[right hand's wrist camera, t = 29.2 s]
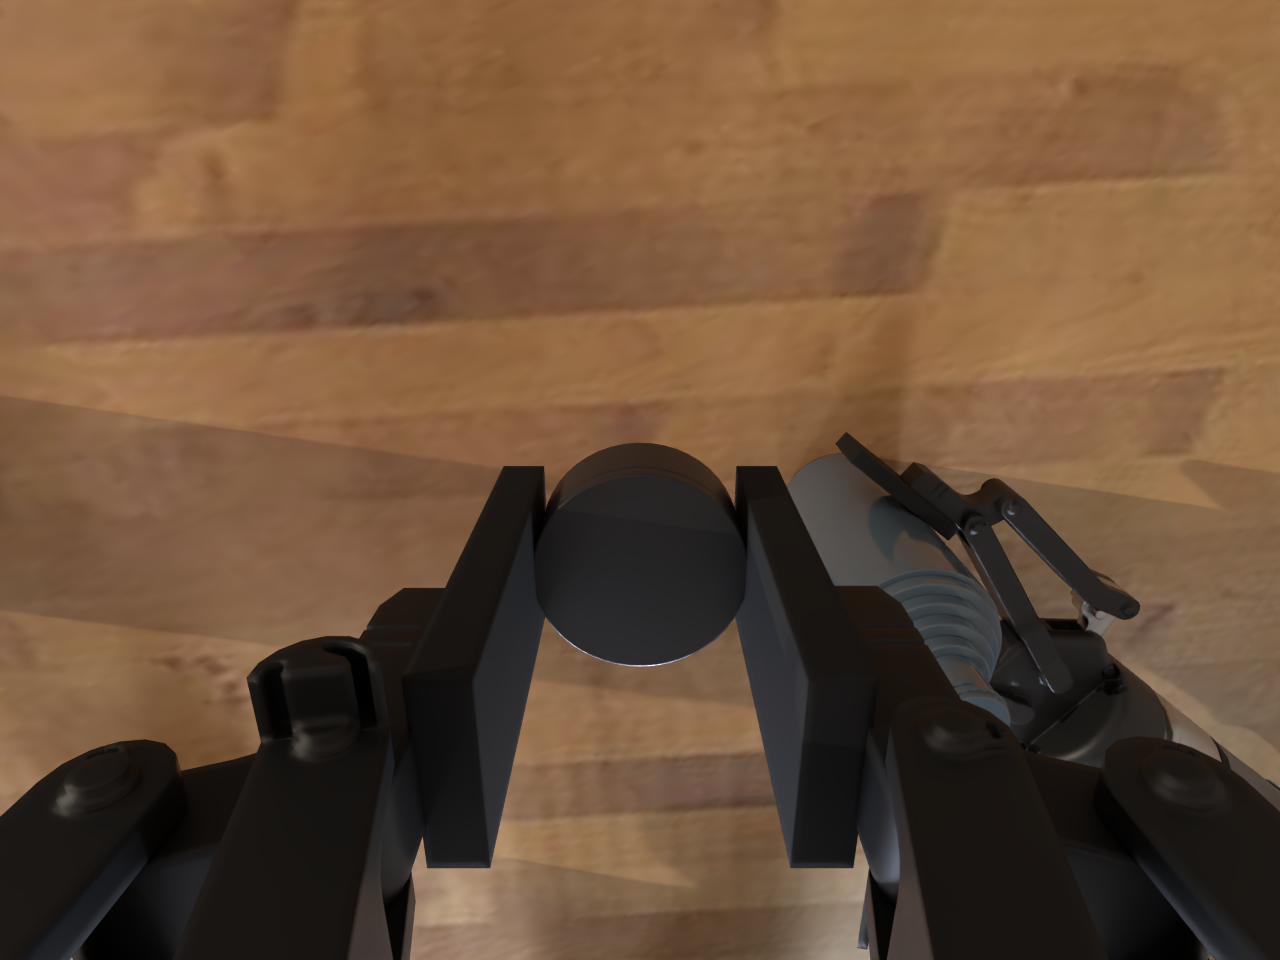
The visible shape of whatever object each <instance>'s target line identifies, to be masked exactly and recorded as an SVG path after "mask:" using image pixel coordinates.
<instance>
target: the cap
mask: <svg viewBox="0 0 1280 960" xmlns="http://www.w3.org/2000/svg"><path fill="white" fill-rule="evenodd" d="M746 557H747V550H746V546H745V542H744V539H743V535H742V532H741V529H740V525H739V522H738V518H737V515H736V512H735V508H734V506H733V503H732V500H731V498H730V496H729V494H728V492H727V490H726V488H725V487H724V485H723V484H722V482H721V481H720V480H719V478H718V477H717V476H716V475H715V474H714V473H713V472H712V471H711V470H710V469H709V468H708V467H707V466H705V465H704V464H703V463H702V462H700V461H699V460H697V459H696V458H694V457H692V456H691V455H689V454H687V453H684V452H682V451H680V450H677V449H674V448H671V447H668V446H664V445H658V444H652V443H630V444H622V445H617V446H613V447H609V448H606V449H604V450H601V451H598V452H596V453H594V454H592V455H590V456H588V457H587V458H585V459H584V460H582V461H581V462H579V463H578V464H576V465H575V466H574V467H573V468H572V469H571V470H570V471H569V472H567V473H566V475H565V476H564V477H563V478H562V479H561V481H560V482H559V483H558V485H557V486H556V488H555V489H554V491H553V493H552V495H551V497H550V499H549V502H548V504H547V508H546V511H545V515H544V518H543V522H542V525H541V528H540V532H539V535H538V539H537V542H536V546H535V549H534V567H535V584H536V597H537V600H538V603H539V605H540V607H541V609H542V611H543V613H544V615H545V616H546V618H547V619H548V621H549V622H550V624H551V625H552V626H553V627H554V628H555V630H556V631H557V632H558V633H559V634H560V635H561V636H562V637H563V638H565V639H566V640H567V641H568V642H569V643H571V644H572V645H573V646H575V647H576V648H578V649H579V650H581V651H583V652H585V653H587V654H589V655H591V656H593V657H596V658H598V659H601V660H603V661H607V662H611V663H615V664H621V665H628V666H653V665H660V664H665V663H670V662H674V661H677V660H680V659H683V658H685V657H687V656H690V655H692V654H694V653H696V652H698V651H699V650H701V649H703V648H705V647H706V646H707V645H709V644H710V643H711V642H713V641H714V640H715V639H716V638H717V637H719V636H720V635H721V634H722V633H723V632H724V631H725V630H726V628H727V627H728V626H729V624H730V623H731V622H732V621H733V619H734V617H735V616H736V614H737V612H738V611H739V609H740V607H741V604H742V602H743V599H744V592H745V575H746Z"/></svg>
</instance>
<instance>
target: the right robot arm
mask: <svg viewBox="0 0 1280 960" xmlns="http://www.w3.org/2000/svg"><path fill="white" fill-rule="evenodd" d="M734 508H735V512H736V515H737V518H738V522H739V525H740V529H741V532H742V535H743V539H744V542H745V546H746V550H747V557H746V575H745V592H744V599H743V602H742V604H741V607H740V609H739V611H738V612H737V614H736V616H735V617H736V622H737V626H738V631H739V636H740V640H741V645H742V649H743V654H744V658H745V663H746V668H747V672H748V677H749V681H750V686H751V690H752V695H753V699H754V704H755V709H756V713H757V718H758V722H759V727H760V731H761V736H762V741H763V745H764V750H765V754H766V759H767V763H768V768H769V773H770V777H771V782H772V786H773V791H774V795H775V800H776V805H777V809H778V814H779V818H780V823H781V827H782V832H783V836H784V841H785V846H786V850H787V855H788V859H789V864H790V868H853V866H854V859H855V852H856V845H857V837H858V834H859V837H860V840H861V843H862V846H863V849H864V852H865V855H866V858H867V861H868V864H869V873H868V879H867V886H866V893H865V899H864V906H863V913H862V919H861V926H860V933H859V940H858V947H857V948H861V949H867V948H868V942H869V949H870V958H871V960H1209V958H1208V957H1209V955H1210V954H1211V955H1212V956H1213V958H1214V959H1215V960H1280V811H1279V810H1278V809H1277V808H1276V807H1274V806H1273V805H1272V804H1271V803H1270V802H1269V801H1268V800H1267V799H1266V798H1265V797H1263V796H1262V795H1261V794H1260V793H1259V792H1258V791H1257V790H1256V789H1255V788H1254V787H1253V786H1251V785H1250V784H1249V783H1248V782H1247V781H1246V780H1245V779H1244V778H1242V777H1241V776H1240V775H1238V774H1237V773H1236V772H1234V771H1233V770H1231V769H1230V768H1229V767H1227V766H1226V765H1225V764H1223V763H1222V762H1221V761H1219V760H1217V759H1215V758H1213V757H1211V756H1209V755H1207V754H1205V753H1202V752H1200V751H1198V750H1196V749H1194V748H1192V747H1189V746H1186V745H1184V744H1181V743H1176V742H1173V741H1169V740H1166V739H1162V738H1151V737H1140V736H1135V737H1130V738H1125V739H1120V740H1116V741H1115V742H1114V743H1113V744H1112V745H1111V746H1110V747H1109V748H1108V749H1107V750H1106V751H1105V755H1104V758H1103V762H1102V765H1101V768H1098V767H1093V766H1089V765H1084V764H1079V763H1075V762H1070V761H1066V760H1061V759H1057V758H1052V757H1047V756H1044V755H1040V754H1037V753H1033V752H1030V751H1026V750H1024V749H1022V748H1021V745H1020V743H1019V741H1018V739H1017V738H1016V736H1015V735H1014V734H1013V732H1012V731H1011V729H1010V728H1009V726H1008V725H1007V724H1005V723H1004V722H1003V721H1001V720H1000V719H999V718H997V717H996V716H995V715H993V714H992V713H991V712H990V711H987V710H985V709H983V708H981V707H979V706H976V705H974V704H972V703H970V702H967V701H964V700H961V698H960V697H959V695H958V694H957V692H956V690H955V689H954V687H953V686H952V684H951V682H950V681H949V679H948V677H947V676H946V674H945V673H944V671H943V669H942V668H941V666H940V665H939V663H938V661H937V660H936V658H935V657H934V655H933V653H932V652H931V650H930V649H929V647H928V645H925V643H924V639H923V637H922V636H921V634H920V632H919V631H918V629H917V628H914V623H913V621H912V620H911V618H910V616H909V615H908V613H907V612H906V610H905V608H904V607H903V605H902V604H901V603H900V602H899V601H898V600H896V599H895V598H893V597H892V596H891V595H889V594H888V593H886V592H885V591H884V590H882V589H881V588H879V587H878V586H834V584H833V582H832V580H831V578H830V576H829V574H828V572H827V570H826V567H825V565H824V563H823V561H822V559H821V557H820V555H819V553H818V551H817V549H816V547H815V545H814V543H813V540H812V538H811V536H810V534H809V532H808V530H807V528H806V526H805V524H804V522H803V520H802V518H801V516H800V514H799V511H798V509H797V507H796V505H795V503H794V501H793V499H792V497H791V495H790V493H789V491H788V489H787V487H786V485H785V482H784V480H783V478H782V476H781V474H780V472H779V470H778V468H777V466H736V486H735V506H734ZM545 511H546V496H545V476H544V466H504V467H503V469H502V471H501V473H500V475H499V477H498V479H497V481H496V483H495V486H494V488H493V490H492V492H491V494H490V496H489V498H488V500H487V502H486V504H485V506H484V508H483V510H482V513H481V515H480V517H479V519H478V521H477V523H476V525H475V527H474V529H473V531H472V533H471V535H470V537H469V539H468V542H467V544H466V546H465V548H464V550H463V552H462V554H461V556H460V558H459V560H458V562H457V564H456V566H455V569H454V571H453V573H452V575H451V577H450V579H449V581H448V583H447V585H446V587H445V588H403V589H402V590H401V591H399V592H398V593H396V594H395V595H394V596H392V597H391V598H389V599H388V600H387V601H385V602H384V603H383V604H381V605H380V606H379V607H378V609H377V611H376V612H375V614H374V615H373V617H372V619H371V620H370V622H369V624H368V625H367V630H364V632H363V633H362V635H361V637H360V638H359V639H357V638H354V637H350V636H325V637H320V638H315V639H309V640H304V641H301V642H298V643H295V644H293V645H290V646H288V647H285V648H283V649H280V650H278V651H276V652H275V653H273V654H272V655H270V656H269V657H267V658H266V659H264V660H263V661H261V662H260V663H258V664H257V666H256V667H255V668H254V669H253V671H252V672H251V673H250V674H249V675H248V677H247V682H248V687H249V691H250V695H251V700H252V704H253V708H254V713H255V717H256V722H257V726H258V730H259V735H260V739H261V744H260V746H259V749H258V751H257V753H255V754H251V755H248V756H244V757H241V758H238V759H234V760H230V761H225V762H220V763H216V764H211V765H207V766H202V767H198V768H193V769H188V770H184V771H181V770H180V767H179V763H178V760H177V756H176V753H175V752H173V751H172V750H171V749H170V748H169V747H168V746H167V745H166V744H165V743H160V742H155V741H151V740H146V739H144V740H133V741H122V742H117V743H113V744H110V745H106V746H102V747H99V748H96V749H93V750H90V751H88V752H86V753H84V754H82V755H80V756H78V757H76V758H74V759H72V760H70V761H68V762H66V763H64V764H62V765H60V766H59V767H58V768H56V769H55V770H54V771H52V772H51V773H49V774H48V775H47V776H45V777H44V778H43V779H41V780H40V781H39V782H37V783H36V784H35V785H34V786H33V787H32V788H31V789H30V790H29V791H28V792H27V793H26V794H24V795H23V796H22V797H21V798H20V799H19V800H18V801H17V802H16V803H15V804H14V805H13V806H11V807H10V808H9V809H8V810H7V811H6V812H5V813H4V814H3V815H2V816H1V817H0V960H70V959H71V958H73V960H410V951H411V941H412V931H413V922H414V912H415V902H416V901H415V893H414V886H413V879H412V873H411V870H412V867H413V864H414V861H415V858H416V855H417V852H418V849H419V846H420V843H421V840H422V836H423V841H424V848H425V855H426V863H427V868H490V866H491V862H492V857H493V852H494V848H495V843H496V839H497V834H498V830H499V825H500V820H501V816H502V811H503V807H504V802H505V798H506V793H507V788H508V784H509V779H510V775H511V770H512V766H513V761H514V756H515V752H516V747H517V743H518V738H519V734H520V729H521V725H522V720H523V715H524V711H525V706H526V702H527V697H528V693H529V688H530V683H531V679H532V674H533V670H534V665H535V661H536V656H537V651H538V647H539V642H540V638H541V633H542V629H543V624H544V619H545V615H544V613H543V611H542V609H541V607H540V605H539V603H538V600H537V597H536V584H535V567H534V549H535V546H536V542H537V539H538V535H539V532H540V528H541V525H542V522H543V518H544V515H545Z"/></svg>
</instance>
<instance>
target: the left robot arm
mask: <svg viewBox="0 0 1280 960" xmlns="http://www.w3.org/2000/svg"><path fill="white" fill-rule="evenodd" d="M836 445H837V446H838V447H839V449H840V450H841V451H842V453H843V454H844V455H845V456H846V458H847V459H848V460H849V462H850V463H852V464H853V465H854V466H855V467H857V468H858V469H859V470H860V471H862V472H863V473H864V474H865V475H867V476H868V477H869V478H870V479H872V480H873V481H874V482H875V483H877V484H878V485H879V486H880V487H882V488H883V489H884V490H885V491H887V492H888V493H889V494H890V495H892V496H893V497H894V498H895V499H897V500H898V501H899V502H900V503H902V504H903V505H904V506H905V507H907V508H908V509H909V510H910V511H912V512H913V513H914V514H916V515H917V516H918V517H919V518H921V519H922V520H923V521H924V522H926V523H927V524H928V525H929V526H931V527H932V528H933V529H934V530H936V531H937V532H938V533H939V534H941V535H942V536H943V537H944V538H946V539H947V540H950V539H951V538H952V537H953V536H954V535H955V534H956V533H957V535H958V537H959V538H960V540H961V542H962V544H963V546H964V548H965V550H966V551H967V553H968V555H969V557H970V559H971V561H972V563H973V564H974V566H975V568H976V570H977V572H978V574H979V576H980V577H981V579H982V581H983V583H984V585H985V587H986V589H987V590H988V592H989V594H990V596H991V598H992V600H993V601H994V603H995V605H996V608H997V611H998V614H999V615H1000V617H1001V619H1002V620H1001V621H1000V626H1001V632H1002V643H1001V650H1000V653H999V657H998V659H997V663H996V666H995V669H994V671H993V674H992V677H991V679H990V682H989V683H990V685H991V686H992V688H993V689H994V690H995V691H996V692H997V693H998V694H999V695H1001V696H1002V698H1003V699H1004V700H1005V702H1006V703H1007V707H1008V710H1009V714H1010V729H1011V731H1012V732H1013V734H1014V735H1015V736H1016V738H1017V739H1018V741H1019V743H1020V745H1021V748H1022V749H1024V750H1026V751H1030V752H1033V753H1037V754H1040V755H1044V756H1047V757H1052V758H1057V759H1061V760H1066V761H1070V762H1075V763H1079V764H1084V765H1089V766H1093V767H1098V768H1101V765H1102V762H1103V758H1104V755H1105V751H1106V750H1107V749H1108V748H1109V747H1110V746H1111V745H1112V744H1113V743H1114V742H1115V741H1116V740H1120V739H1125V738H1130V737H1135V736H1140V737H1151V738H1162V739H1166V740H1169V741H1173V742H1176V743H1181V744H1184V745H1186V746H1189V747H1192V748H1194V749H1196V750H1198V751H1200V752H1202V753H1205V754H1207V755H1209V756H1211V757H1213V758H1215V759H1217V760H1219V761H1221V762H1222V763H1223V764H1225V765H1226V766H1227V767H1229V768H1230V769H1231V770H1233V771H1234V772H1236V773H1237V774H1238V775H1240V776H1241V777H1242V778H1244V779H1245V780H1246V781H1247V782H1248V783H1249V784H1250V785H1251V786H1253V787H1254V788H1255V789H1256V790H1257V791H1258V792H1259V793H1260V794H1261V795H1262V796H1263V797H1265V798H1266V799H1267V800H1268V801H1269V802H1270V803H1271V804H1272V805H1273V806H1274V807H1276V808H1277V809H1278V810H1279V811H1280V787H1278V786H1277V785H1276V784H1274V783H1273V782H1271V781H1270V780H1266V779H1264V778H1263V777H1261V776H1260V775H1259V774H1258V773H1256V772H1255V771H1254V770H1253V769H1251V768H1250V767H1249V766H1247V765H1246V764H1245V763H1243V762H1242V761H1241V760H1239V759H1238V758H1237V757H1235V756H1234V755H1233V754H1232V753H1230V752H1229V751H1228V750H1226V749H1225V748H1224V747H1222V746H1221V745H1220V744H1219V743H1217V742H1216V741H1215V740H1214V739H1213V738H1212V737H1211V736H1210V735H1209V734H1208V733H1206V732H1205V731H1204V730H1203V729H1201V728H1200V727H1199V726H1198V725H1197V724H1195V723H1194V722H1193V721H1192V720H1190V719H1189V718H1188V717H1187V716H1185V715H1184V714H1183V713H1182V712H1181V711H1179V710H1178V709H1177V708H1176V707H1174V706H1173V705H1172V704H1171V703H1170V702H1168V701H1167V700H1166V699H1165V698H1163V697H1162V696H1161V695H1159V694H1158V693H1157V692H1155V691H1154V690H1152V689H1151V687H1150V686H1148V685H1147V684H1146V683H1145V682H1144V681H1142V680H1141V679H1140V678H1139V677H1138V676H1136V675H1135V674H1134V673H1133V672H1131V671H1130V670H1129V669H1128V668H1126V667H1125V666H1124V665H1123V664H1121V663H1120V662H1119V661H1118V660H1116V659H1115V658H1114V657H1113V656H1111V655H1110V654H1109V653H1108V652H1107V648H1106V644H1105V641H1104V639H1103V638H1102V635H1103V634H1104V633H1105V632H1106V630H1107V629H1108V628H1109V626H1110V625H1111V624H1112V622H1113V621H1114V620H1115V619H1116V617H1117V618H1120V619H1123V620H1126V619H1131V618H1133V617H1134V616H1136V615H1137V614H1138V612H1139V610H1140V604H1139V602H1138V601H1136V600H1135V599H1134V598H1133V597H1132V596H1130V595H1129V594H1128V593H1127V592H1126V591H1125V590H1123V589H1122V588H1121V587H1120V586H1119V585H1117V584H1116V583H1115V582H1114V581H1112V580H1111V579H1110V578H1109V577H1107V576H1105V575H1103V574H1100V573H1098V572H1096V571H1093V570H1091V569H1089V568H1088V567H1087V565H1086V564H1085V563H1084V562H1083V561H1082V560H1081V559H1080V558H1079V557H1078V556H1077V555H1076V554H1075V553H1074V552H1073V551H1072V549H1071V548H1070V547H1069V546H1068V545H1067V544H1066V543H1065V542H1064V541H1063V540H1062V539H1061V538H1060V537H1059V536H1058V535H1057V533H1056V532H1055V531H1054V530H1053V529H1052V528H1051V527H1050V526H1049V525H1048V524H1047V523H1046V522H1045V521H1044V520H1043V518H1042V517H1041V516H1040V515H1039V514H1038V513H1037V512H1036V511H1035V510H1034V509H1033V508H1032V507H1031V506H1030V505H1029V504H1028V502H1027V501H1026V500H1025V499H1023V498H1022V497H1021V496H1020V495H1019V494H1017V493H1016V492H1015V491H1014V490H1012V489H1011V488H1010V487H1009V486H1007V485H1006V484H1005V483H1004V482H1002V481H1001V480H999V479H996V478H993V479H989V480H987V481H986V482H984V484H983V485H982V487H981V490H979V491H977V492H975V493H973V494H970V495H962V494H960V493H958V492H956V491H955V490H953V489H952V488H951V487H950V486H949V485H947V484H946V483H945V482H944V481H942V480H941V479H940V478H939V477H938V476H936V475H935V474H934V473H933V472H931V471H930V470H929V469H928V468H927V467H925V466H924V465H922V464H918V463H915V462H913V463H912V464H911V465H910V466H909V467H908V468H907V469H906V470H905V471H904V472H903V473H902V474H901V475H899V474H897V473H896V472H895V471H894V470H892V469H891V468H890V467H889V466H887V465H886V464H885V463H884V462H882V461H881V460H880V459H879V458H878V457H876V456H875V455H874V454H873V453H871V452H870V451H869V450H868V449H866V448H865V447H864V446H863V445H861V444H860V443H859V442H858V441H857V440H855V439H854V438H853V437H852V436H850V435H849V434H848V433H847V432H846V433H845V434H844V435H843V436H842V437H841V438H840V439H839V440H838V442H837V443H836ZM1002 520H1005V521H1006V522H1007V523H1008V524H1009V525H1010V526H1011V527H1012V528H1013V529H1014V531H1015V532H1016V533H1017V534H1018V535H1019V536H1020V537H1021V538H1022V539H1023V540H1024V541H1025V542H1026V543H1027V544H1028V545H1029V546H1030V547H1031V548H1032V549H1033V550H1034V551H1035V552H1036V553H1037V555H1038V556H1039V557H1040V558H1041V559H1042V560H1043V561H1044V562H1045V563H1046V564H1047V565H1048V566H1049V567H1050V568H1051V569H1052V570H1053V571H1054V572H1055V573H1056V574H1057V575H1058V576H1059V577H1060V578H1061V579H1062V580H1063V581H1064V582H1065V583H1066V584H1067V585H1069V586H1070V587H1071V588H1072V590H1071V595H1072V596H1073V597H1072V603H1073V605H1074V606H1075V607H1076V608H1077V609H1078V610H1079V618H1078V619H1056V618H1039V617H1038V616H1037V614H1036V612H1035V610H1034V608H1033V606H1032V604H1031V602H1030V601H1029V599H1028V597H1027V595H1026V593H1025V591H1024V589H1023V587H1022V585H1021V583H1020V581H1019V579H1018V577H1017V575H1016V574H1015V572H1014V570H1013V568H1012V566H1011V564H1010V562H1009V560H1008V558H1007V556H1006V554H1005V552H1004V550H1003V548H1002V547H1001V545H1000V543H999V541H998V539H997V537H996V535H995V533H994V531H993V529H992V527H991V526H992V525H994V524H996V523H998V522H1000V521H1002Z"/></svg>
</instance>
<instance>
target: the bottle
mask: <svg viewBox="0 0 1280 960" xmlns="http://www.w3.org/2000/svg"><path fill="white" fill-rule="evenodd" d="M787 489H788V491H789V493H790V495H791V497H792V499H793V501H794V503H795V505H796V507H797V509H798V511H799V514H800V516H801V518H802V520H803V522H804V524H805V526H806V528H807V530H808V532H809V534H810V536H811V538H812V540H813V543H814V545H815V547H816V549H817V551H818V553H819V555H820V557H821V559H822V561H823V563H824V565H825V567H826V570H827V572H828V574H829V576H830V578H831V580H832V582H833V584H834V586H878V587H879V588H881V589H882V590H884V591H885V592H886V593H888V594H889V595H891V596H892V597H893V598H895V599H896V600H898V601H899V602H900V603H901V604H902V605H903V607H904V608H905V610H906V612H907V613H908V615H909V616H910V618H911V620H912V621H913V623H914V628H917V629H918V631H919V632H920V634H921V636H922V637H923V639H924V643H925V645H928V647H929V649H930V650H931V652H932V653H933V655H934V657H935V658H936V660H937V661H938V663H939V665H940V666H941V668H942V669H943V671H944V673H945V674H946V676H947V677H948V679H949V681H950V682H951V684H952V686H953V687H954V689H955V690H956V692H957V694H958V695H959V697H960V698H961V700H964V701H967V702H970V703H972V704H974V705H976V706H979V707H981V708H983V709H985V710H987V711H990V712H991V713H992V714H993V715H995V716H996V717H997V718H999V719H1000V720H1001V721H1003V722H1004V723H1005V724H1007V725H1008V726H1009V728H1010V714H1009V710H1008V707H1007V703H1006V702H1005V700H1004V699H1003V698H1002V696H1001V695H999V694H998V693H997V692H996V691H995V690H994V689H993V688H992V686H991V685H990V683H989V682H990V679H991V677H992V674H993V671H994V669H995V666H996V663H997V659H998V657H999V653H1000V650H1001V643H1002V632H1001V626H1000V620H999V614H998V611H997V608H996V605H995V603H994V601H993V600H992V598H991V596H990V595H989V594H988V592H987V591H986V590H985V589H984V588H983V586H982V585H981V584H980V583H979V582H978V581H977V579H976V578H975V577H974V576H973V575H972V574H971V572H970V571H969V570H968V569H967V568H966V567H965V566H964V564H963V563H962V562H961V561H960V560H959V559H958V557H957V556H956V555H955V554H954V553H953V552H952V550H951V549H950V548H949V547H948V546H947V545H946V543H945V542H944V541H943V540H942V539H941V538H940V536H939V535H938V534H937V533H936V532H935V531H934V530H933V528H932V527H931V526H929V525H928V524H927V523H926V522H924V521H923V520H922V519H921V518H919V517H918V516H917V515H916V514H914V513H913V512H912V511H910V510H909V509H908V508H907V507H905V506H904V505H903V504H902V503H900V502H899V501H898V500H897V499H895V498H894V497H893V496H892V495H890V494H889V493H888V492H887V491H885V490H884V489H883V488H882V487H880V486H879V485H878V484H877V483H875V482H874V481H873V480H872V479H870V478H869V477H868V476H867V475H865V474H864V473H863V472H862V471H860V470H859V469H858V468H857V467H855V466H854V465H853V464H852V463H850V462H849V460H848V459H847V458H846V456H845V455H844V454H833V455H828V456H824V457H821V458H819V459H816V460H814V461H812V462H811V463H809V464H807V465H806V466H805V467H803V468H802V469H801V470H800V471H799V472H798V473H797V474H796V475H795V476H794V477H793V478H792V480H791V481H790V483H789V484H788V486H787Z"/></svg>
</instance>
